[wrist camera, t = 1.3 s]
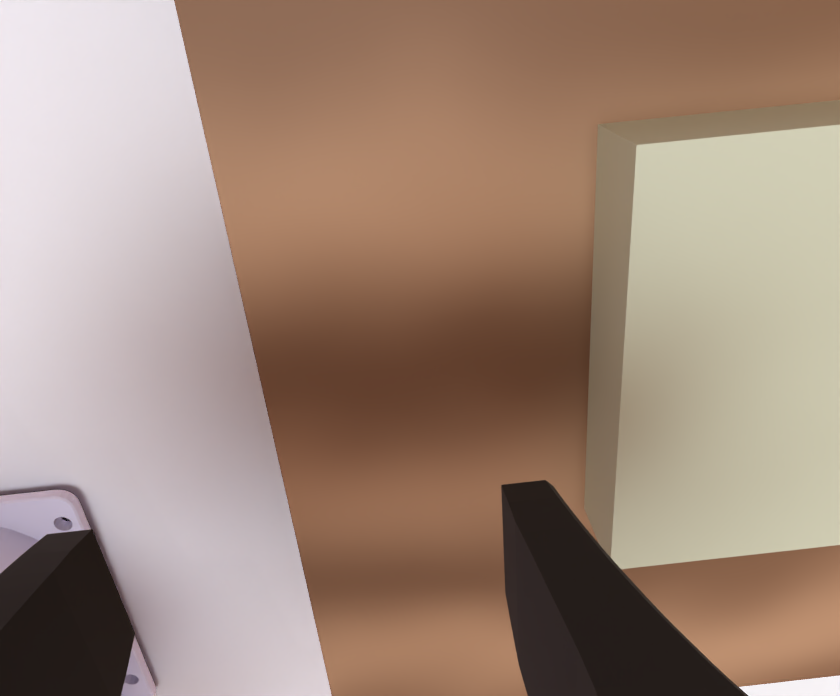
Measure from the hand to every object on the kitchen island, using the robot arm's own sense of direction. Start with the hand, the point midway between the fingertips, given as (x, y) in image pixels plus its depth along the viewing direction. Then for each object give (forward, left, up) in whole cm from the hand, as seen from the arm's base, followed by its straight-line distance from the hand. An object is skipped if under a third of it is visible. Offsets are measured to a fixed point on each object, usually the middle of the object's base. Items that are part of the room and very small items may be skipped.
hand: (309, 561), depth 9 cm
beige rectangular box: (0, -8, -5) cm, 10 cm away
